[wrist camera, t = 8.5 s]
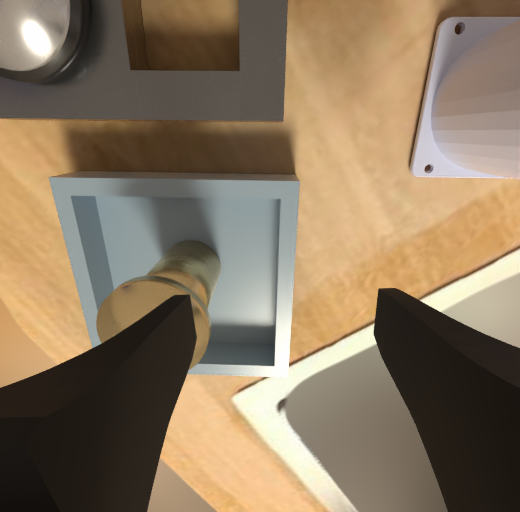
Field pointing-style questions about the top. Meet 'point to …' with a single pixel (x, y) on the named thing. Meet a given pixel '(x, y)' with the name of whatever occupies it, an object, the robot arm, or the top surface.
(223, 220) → the tray
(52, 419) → the robot arm
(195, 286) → the lock pin
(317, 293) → the top surface
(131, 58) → the block
